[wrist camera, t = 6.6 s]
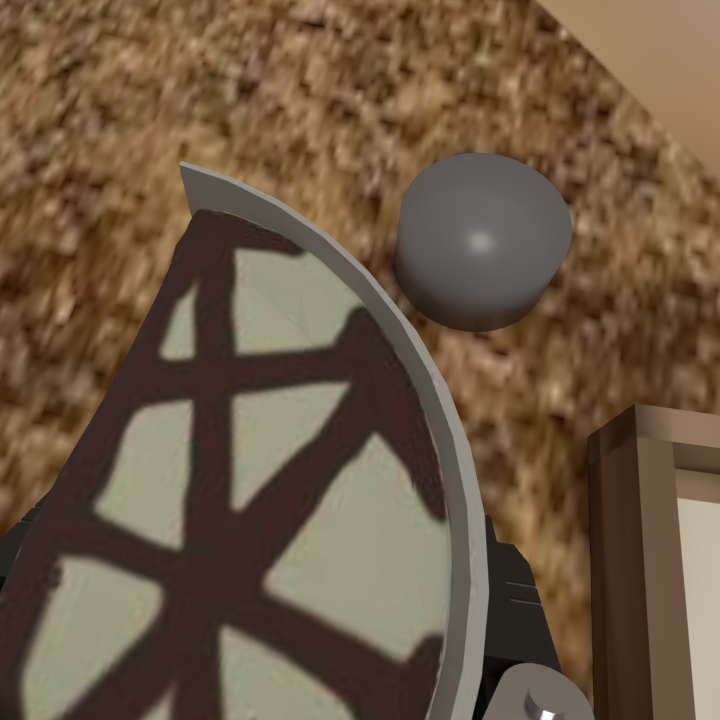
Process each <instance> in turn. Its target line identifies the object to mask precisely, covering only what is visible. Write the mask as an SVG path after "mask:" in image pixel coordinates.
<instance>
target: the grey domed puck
mask: <svg viewBox="0 0 720 720" xmlns="http://www.w3.org/2000/svg"><path fill="white" fill-rule="evenodd" d="M571 238H572V224H571V218H570V214H569V211H568V208H567V206H566V203H565V202H564V200H563V198H562V196H561V195H560V193H559V192H558V191H557V189H556V188H555V187H554V186H553V185H552V184H551V183H550V182H549V181H548V180H547V179H546V178H545V177H544V176H543V175H541V174H540V173H539V172H537V171H536V170H534V169H533V168H531V167H529V166H527V165H525V164H523V163H521V162H519V161H516V160H514V159H511V158H508V157H504V156H500V155H495V154H487V153H467V154H460V155H455V156H451V157H448V158H445V159H442V160H440V161H438V162H436V163H434V164H432V165H430V166H429V167H428V168H426V169H425V170H423V171H422V172H421V173H420V174H419V175H418V176H417V177H416V178H415V179H414V180H413V182H412V183H411V184H410V186H409V188H408V189H407V191H406V194H405V196H404V199H403V203H402V207H401V214H400V221H399V228H398V236H397V243H396V250H395V260H394V264H395V272H396V276H397V280H398V282H399V285H400V287H401V289H402V291H403V293H404V294H405V296H406V297H407V298H408V300H409V301H410V302H411V304H412V305H414V306H415V307H416V308H417V309H418V310H419V311H420V312H421V313H423V314H424V315H425V316H426V317H428V318H430V319H432V320H433V321H435V322H437V323H439V324H441V325H444V326H447V327H450V328H453V329H457V330H462V331H471V332H484V331H491V330H497V329H500V328H504V327H506V326H509V325H511V324H513V323H515V322H517V321H518V320H520V319H521V318H523V317H524V316H525V315H526V314H527V313H529V312H530V310H531V309H532V308H533V307H534V306H535V304H536V303H537V301H538V300H539V298H540V297H541V295H542V293H543V292H544V290H545V289H546V287H547V285H548V284H549V282H550V281H551V279H552V277H553V276H554V274H555V273H556V271H557V270H558V268H559V266H560V265H561V263H562V262H563V260H564V258H565V257H566V255H567V252H568V250H569V247H570V243H571Z"/></svg>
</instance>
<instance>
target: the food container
mask: <svg viewBox="0 0 720 720" xmlns="http://www.w3.org/2000/svg"><path fill="white" fill-rule="evenodd" d="M179 167H180V171H181V175H182V179H183V183H184V187H185V191H186V195H187V199H188V204H189V208H190V212H191V216H192V219H191V221H190V223H189V225H188V227H187V229H186V232H185V233H184V234H183V236H182V237H181V239H180V240H179V242H178V243H177V245H176V247H175V251H174V254H173V258H172V262H171V265H170V267H169V269H168V272H167V274H166V276H165V279H164V281H163V283H162V286H161V288H160V290H159V293H158V295H157V297H156V299H155V301H154V303H153V305H152V307H151V309H150V311H149V313H148V315H147V317H146V319H145V321H144V323H143V325H142V327H141V329H140V331H139V333H138V335H137V337H136V339H135V341H134V343H133V345H132V347H131V349H130V351H129V353H128V355H127V356H126V358H125V360H124V362H123V364H122V366H121V367H120V369H119V371H118V373H117V375H116V377H115V378H114V380H113V382H112V384H111V386H110V388H109V389H108V391H107V393H106V395H105V397H104V399H103V400H102V402H101V404H100V406H99V407H98V409H97V411H96V412H95V414H94V416H93V418H92V419H91V421H90V423H89V424H88V426H87V428H86V429H85V431H84V433H83V434H82V436H81V438H80V440H79V441H78V443H77V445H76V446H75V448H74V450H73V451H72V453H71V455H70V456H69V458H68V460H67V461H66V463H65V465H64V467H63V469H62V470H61V472H60V474H59V476H58V478H57V479H56V481H55V483H54V485H53V487H52V488H51V490H50V492H49V494H48V496H47V497H46V499H45V501H44V503H43V505H42V507H41V508H40V510H39V512H38V514H37V515H36V517H35V519H34V520H33V522H32V524H31V526H30V528H29V529H28V531H27V533H26V535H25V537H24V539H23V541H22V543H21V546H20V548H19V550H18V553H17V555H16V557H15V559H14V562H13V564H12V566H11V569H10V571H9V573H8V576H7V578H6V580H5V582H4V585H3V587H2V589H1V592H0V720H472V716H473V711H474V707H475V703H476V698H477V694H478V690H479V686H480V681H481V677H482V667H483V656H484V645H485V633H486V622H487V611H488V599H489V582H488V565H487V548H486V530H485V515H484V510H483V505H482V501H481V496H480V491H479V486H478V482H477V477H476V472H475V467H474V463H473V458H472V453H471V448H470V445H469V442H468V440H467V437H466V434H465V432H464V429H463V426H462V424H461V421H460V418H459V416H458V413H457V410H456V408H455V405H454V402H453V400H452V397H451V394H450V392H449V389H448V386H447V384H446V382H445V381H444V379H443V377H442V375H441V374H440V372H439V370H438V368H437V367H436V365H435V363H434V361H433V359H432V358H431V356H430V354H429V352H428V351H427V349H426V347H425V345H424V344H423V342H422V340H421V338H420V336H419V335H418V333H417V331H416V330H415V329H414V328H413V326H412V325H411V324H410V323H409V321H408V320H407V319H406V317H405V316H404V315H403V314H402V312H401V311H400V310H399V309H398V307H397V306H396V305H395V304H394V302H393V301H392V300H391V299H390V297H389V296H388V295H387V293H386V292H385V291H384V290H383V288H382V287H381V286H380V285H379V284H378V283H377V281H376V280H375V279H374V277H373V276H372V275H371V274H370V272H369V271H368V270H367V269H366V268H365V267H364V266H362V265H361V264H360V263H359V262H358V261H357V260H356V259H355V258H354V257H353V256H352V255H351V254H349V253H348V252H347V251H346V250H345V249H344V248H343V247H342V246H341V245H340V244H339V243H338V242H336V241H335V240H334V239H333V238H332V237H331V236H330V235H329V234H328V233H327V232H325V231H324V230H322V229H321V228H319V227H318V226H316V225H315V224H313V223H312V222H311V221H309V220H308V219H306V218H305V217H303V216H302V215H300V214H299V213H297V212H296V211H294V210H293V209H291V208H290V207H288V206H287V205H285V204H284V203H282V202H281V201H279V200H277V199H275V198H273V197H271V196H269V195H267V194H265V193H263V192H261V191H259V190H257V189H254V188H252V187H250V186H248V185H246V184H244V183H242V182H240V181H238V180H236V179H234V178H232V177H229V176H226V175H223V174H220V173H217V172H214V171H211V170H208V169H205V168H202V167H199V166H196V165H193V164H190V163H187V162H184V161H181V162H180V164H179Z"/></svg>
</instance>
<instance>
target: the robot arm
mask: <svg viewBox="0 0 720 720" xmlns="http://www.w3.org/2000/svg"><path fill="white" fill-rule="evenodd" d="M49 492H50V491H49ZM49 492H48V493H47V494H46V495H45V496H44V497H43V498H42V499H41V500H40V501H39V502H38V503H37V504H36V506H35V508H32V509H31V510H30V511H29V512H28V513H27V514H26V515H25V516H24V517H23V518H22V519H21V522H20V523H19V522H18V523H17V524H16V525H15V526H14V527H13V528H12V529H11V530H10V531H9V532H8V533H6V534H5V535H4V536H3V537H2V538H1V539H0V592H1V589H2V587H3V585H4V582H5V580H6V578H7V576H8V573H9V571H10V569H11V566H12V564H13V562H14V559H15V557H16V555H17V553H18V550H19V548H20V546H21V543H22V541H23V539H24V537H25V535H26V533H27V531H28V529H29V528H30V526H31V524H32V522H33V520H34V519H35V517H36V515H37V514H38V512H39V510H40V508H41V507H42V505H43V503H44V501H45V499H46V497H47V496H48V494H49ZM485 530H486V548H487V565H488V582H489V599H488V611H487V622H486V633H485V645H484V656H483V667H482V677H481V681H480V686H479V690H478V694H477V698H476V703H475V707H474V711H473V716H472V720H601V719H599V718H598V717H597V716H595V715H594V714H593V711H592V708H591V706H590V704H589V702H588V700H587V699H586V697H585V696H584V694H583V693H582V692H581V690H580V689H579V688H578V687H577V686H576V685H575V684H574V683H573V682H572V681H571V680H569V679H568V678H567V677H565V676H564V675H563V674H562V671H561V667H560V664H559V661H558V657H557V654H556V651H555V647H554V644H553V641H552V637H551V634H550V631H549V628H548V624H547V621H546V618H545V614H544V611H543V608H542V607H541V601H540V598H539V594H538V591H537V589H535V586H536V584H535V581H534V578H533V575H532V571H531V568H530V565H529V563H528V562H527V561H526V559H525V558H524V557H523V556H522V554H521V553H520V552H519V551H518V549H517V548H516V547H515V546H514V545H512V544H506V543H499V542H497V540H496V536H495V532H494V528H493V524H492V520H491V517H490V516H489V515H485Z"/></svg>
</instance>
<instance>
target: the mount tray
mask: <svg viewBox="0 0 720 720" xmlns="http://www.w3.org/2000/svg"><path fill="white" fill-rule="evenodd" d="M588 463H589V505H590V548H591V591H592V633H593V676H594V715H595V716H597V717H598V718H599V719H601V720H720V415H714V414H706V413H699V412H692V411H685V410H677V409H670V408H663V407H655V406H648V405H641V404H634V405H632V406H631V407H629V408H628V409H627V410H625V411H624V412H622V413H621V414H620V415H618V416H617V417H615V418H614V419H612V420H611V421H610V422H608V423H607V424H605V425H604V426H603V427H601V428H600V429H598V430H597V431H596V432H594V433H593V434H591V435H590V436H589V437H588Z"/></svg>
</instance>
